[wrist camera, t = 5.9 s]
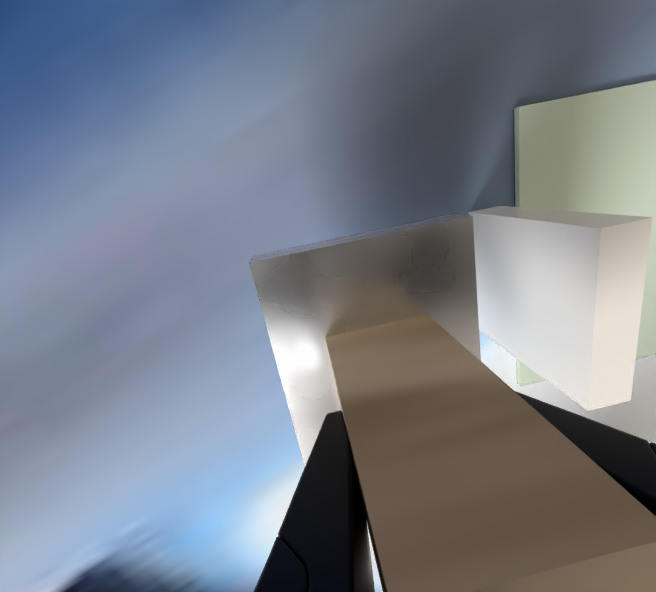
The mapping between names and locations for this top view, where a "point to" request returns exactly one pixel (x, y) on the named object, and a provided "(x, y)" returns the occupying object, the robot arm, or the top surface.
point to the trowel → (441, 422)
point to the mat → (593, 170)
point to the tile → (564, 295)
